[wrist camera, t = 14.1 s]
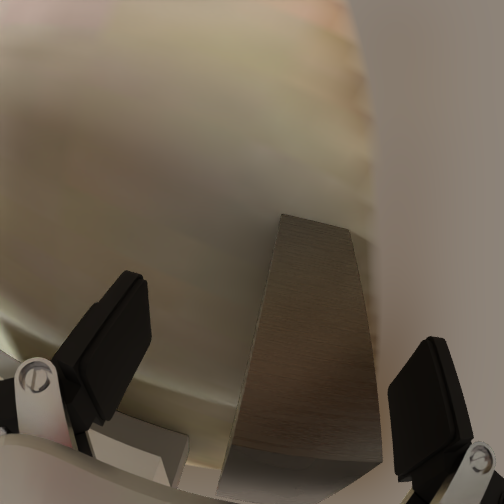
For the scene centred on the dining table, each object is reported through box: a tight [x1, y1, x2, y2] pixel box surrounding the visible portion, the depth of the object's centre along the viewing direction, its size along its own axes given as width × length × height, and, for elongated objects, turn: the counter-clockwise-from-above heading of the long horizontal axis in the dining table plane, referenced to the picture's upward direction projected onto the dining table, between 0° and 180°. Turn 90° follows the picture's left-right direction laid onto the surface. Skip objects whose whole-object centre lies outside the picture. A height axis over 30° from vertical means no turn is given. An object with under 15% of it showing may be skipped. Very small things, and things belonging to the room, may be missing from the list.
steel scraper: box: [215, 214, 383, 504], centre depth 12 cm, size 18×2×8 cm, turn 171°
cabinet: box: [0, 350, 189, 489], centre depth 16 cm, size 13×23×12 cm, turn 81°
